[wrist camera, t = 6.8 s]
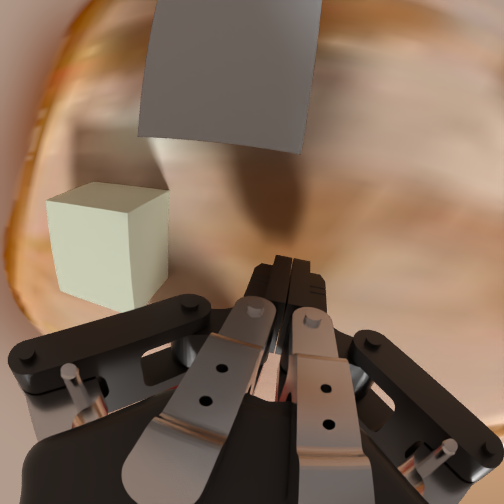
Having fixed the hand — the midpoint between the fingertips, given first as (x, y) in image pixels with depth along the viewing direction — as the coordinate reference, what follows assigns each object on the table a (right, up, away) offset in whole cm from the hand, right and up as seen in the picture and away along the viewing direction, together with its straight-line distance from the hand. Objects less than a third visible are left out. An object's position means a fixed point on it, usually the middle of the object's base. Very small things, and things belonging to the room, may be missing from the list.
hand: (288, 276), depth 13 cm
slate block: (-1, +8, -1) cm, 9 cm away
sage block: (-8, +2, +3) cm, 9 cm away
